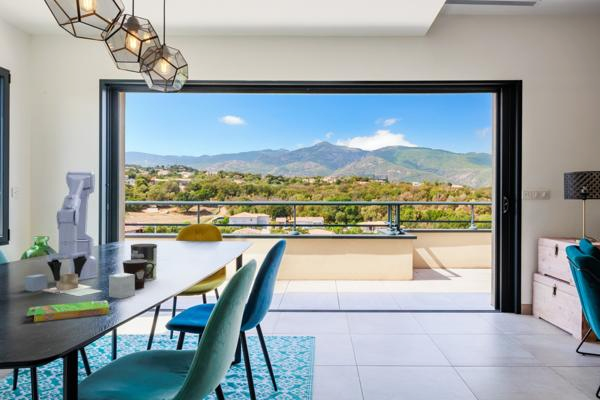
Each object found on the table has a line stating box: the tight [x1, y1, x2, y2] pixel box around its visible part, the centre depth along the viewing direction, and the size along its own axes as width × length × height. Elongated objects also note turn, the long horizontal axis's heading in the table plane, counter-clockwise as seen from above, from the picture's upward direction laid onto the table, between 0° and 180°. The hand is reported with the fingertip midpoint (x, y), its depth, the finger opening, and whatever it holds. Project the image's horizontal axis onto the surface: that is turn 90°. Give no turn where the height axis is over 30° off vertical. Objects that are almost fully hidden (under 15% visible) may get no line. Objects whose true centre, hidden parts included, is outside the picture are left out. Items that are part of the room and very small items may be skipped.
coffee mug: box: [122, 259, 154, 291], centre depth 158 cm, size 12×9×10 cm
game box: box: [26, 300, 110, 323], centre depth 122 cm, size 3×10×20 cm
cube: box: [24, 273, 48, 292], centre depth 152 cm, size 5×5×5 cm
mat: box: [64, 287, 104, 297], centre depth 148 cm, size 9×9×1 cm
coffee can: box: [130, 243, 158, 282], centre depth 174 cm, size 10×10×14 cm
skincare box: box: [108, 272, 136, 299], centre depth 144 cm, size 6×6×7 cm
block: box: [56, 272, 79, 290], centre depth 154 cm, size 5×5×5 cm
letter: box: [42, 283, 92, 294], centre depth 154 cm, size 13×10×1 cm
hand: (67, 279), depth 154 cm, fingers open, 7 cm apart
